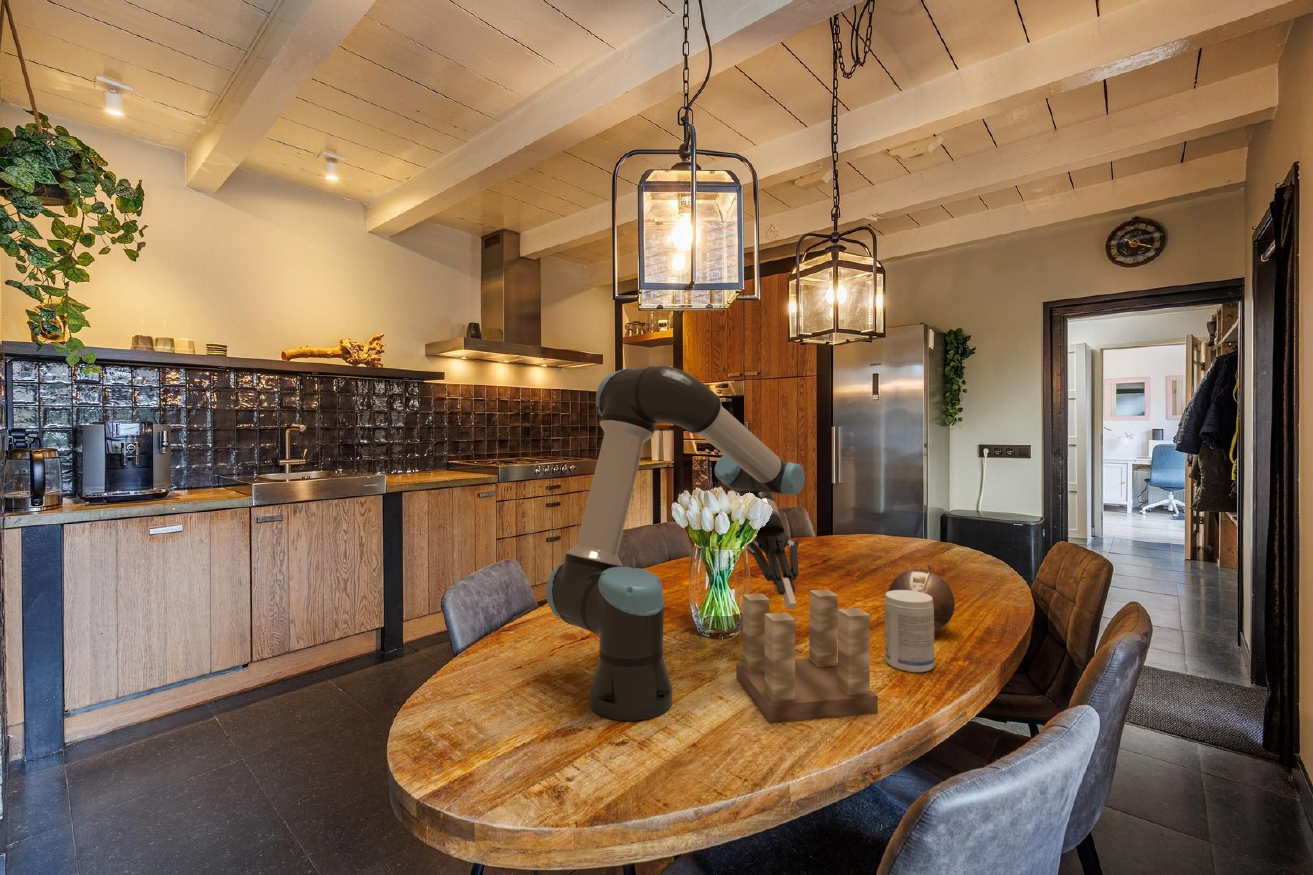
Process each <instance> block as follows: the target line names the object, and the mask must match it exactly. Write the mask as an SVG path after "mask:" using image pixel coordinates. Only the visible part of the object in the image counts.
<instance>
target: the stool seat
mask: <svg viewBox="0 0 1313 875" xmlns="http://www.w3.org/2000/svg"><path fill="white" fill-rule="evenodd" d="M770 605H771V604H770V599H769V598H768V596H766V595H765V594H763V593H751V594H747V593H746V594H743V595H742V662H736V664H735V665H736V669H735V670H736V677H735V678H736V680H737V681H738V682H739V684H740V685H741V687H742V689H744V690H745V692H746V693H747V695H748V694H749V695H748V696H749V697H750V699H751V698H752V699H751V700H752V702H755V703H754V705H755V706H756V707H757V706H758V707H757V708H758V710H759V711H760V713H761V714H762V715H763V716H764V718H765V719H766V721H767V722H768V723H769V724H773V723H783V722H794V721H803V720H804V721H805V720H813V719H814V720H815V719H816V720H818V719H825V718H827V719H828V718H836V717H837V718H838V717H847V716H848V717H849V716H857V715H859V716H861V715H868V714H878V713H879V710H878V709H879V708H878V706H879V705H878V704H879V702H878V701H879V698H878V697H879V695H877V694H876V693H875V692H874V691H872V690H871V689H870V683H871V682H870V674H871V672H870V670H871V668H870V667H871V666H870V663H871V661H870V659H871V658H870V657H871V653H870V652H871V643H870V642H871V614H869V613H867V612H865V611H864V610H862V609H861V608H859V607H856V608H838V624H837V666H828V667H817V666H816V665H815V664H814V663H813V662H812V661H811V660H810V659H809V657H803V658H801V657H800V658H796V619H795V618H794V617H793V616H791V615H790V614H789V613H787V612H785V611H784V612H771V611H770V608H771V606H770Z"/></svg>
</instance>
